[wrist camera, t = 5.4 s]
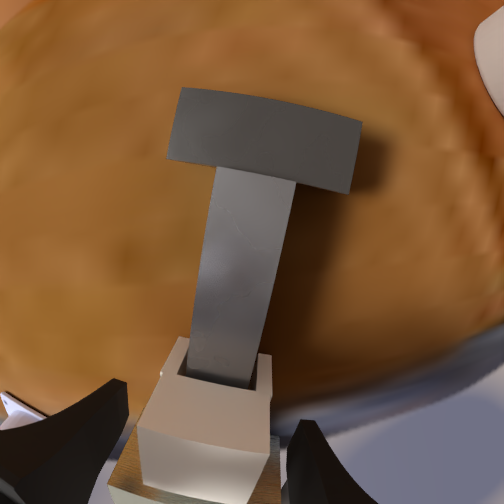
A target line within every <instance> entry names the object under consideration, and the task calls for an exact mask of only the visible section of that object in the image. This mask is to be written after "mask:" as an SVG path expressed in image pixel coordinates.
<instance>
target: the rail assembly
mask: <svg viewBox="0 0 504 504" xmlns="http://www.w3.org/2000/svg"><path fill="white" fill-rule="evenodd" d="M361 128H362V122H361V121H358V120H354V119H351V118H348V117H344V116H341V115H337V114H333V113H330V112H326V111H322V110H318V109H314V108H310V107H306V106H301V105H297V104H292V103H288V102H283V101H278V100H273V99H268V98H262V97H256V96H250V95H244V94H238V93H231V92H223V91H215V90H206V89H196V88H185V87H182V89H181V93H180V97H179V101H178V105H177V110H176V114H175V119H174V123H173V128H172V132H171V137H170V142H169V147H168V152H167V158H166V159H170V160H175V161H180V162H185V163H192V164H198V165H204V166H210V167H216V168H217V169H216V174H215V180H214V185H213V190H212V196H211V201H210V207H209V213H208V218H207V224H206V230H205V236H204V242H203V249H202V255H201V261H200V268H199V275H198V281H197V288H196V295H195V303H194V310H193V318H192V325H191V333H190V342H189V350H188V359H187V368H186V377H189V378H193V379H197V380H202V381H206V382H211V383H215V384H220V385H225V386H230V387H235V388H241V389H246V390H248V386H249V382H250V378H251V374H252V371H253V367H254V363H255V359H256V355H257V351H258V347H259V343H260V339H261V335H262V331H263V327H264V323H265V319H266V315H267V310H268V306H269V302H270V298H271V294H272V289H273V285H274V281H275V277H276V272H277V268H278V264H279V259H280V255H281V250H282V246H283V242H284V237H285V233H286V228H287V223H288V219H289V214H290V210H291V205H292V200H293V196H294V191H295V186H296V183H298V184H302V185H306V186H311V187H315V188H319V189H323V190H328V191H332V192H337V193H342V194H347V195H349V191H350V186H351V182H352V177H353V172H354V167H355V162H356V156H357V151H358V146H359V140H360V134H361ZM144 409H145V408H144ZM144 409H143V411H144ZM143 411H142V413H143ZM142 413H141V415H142ZM141 415H140V417H139V419H138V421H137V423H136V425H135V427H134V429H133V431H132V433H131V435H130V437H129V439H128V441H127V443H126V445H125V447H124V449H123V451H122V454H121V456H120V458H119V460H118V462H117V464H116V466H115V468H114V470H113V472H112V474H111V477H110V479H109V481H108V483H107V486H108V489H109V491H110V494H111V497H112V499H113V502H114V504H225V503H219V502H213V501H208V500H203V499H198V498H193V497H188V496H184V495H180V494H176V493H172V492H168V491H164V490H161V489H157V488H154V487H151V486H147V485H144V484H143V479H142V472H141V464H140V455H139V446H138V435H137V424H138V422H139V420H140V418H141ZM280 479H281V477H280V443H279V436H274V435H270V455H269V457H268V459H267V462H266V464H265V466H264V468H263V471H262V473H261V475H260V477H259V479H258V481H257V483H256V486H255V488H254V490H253V492H252V494H251V496H250V498H249V500H248V502H247V504H281V480H280Z"/></svg>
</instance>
